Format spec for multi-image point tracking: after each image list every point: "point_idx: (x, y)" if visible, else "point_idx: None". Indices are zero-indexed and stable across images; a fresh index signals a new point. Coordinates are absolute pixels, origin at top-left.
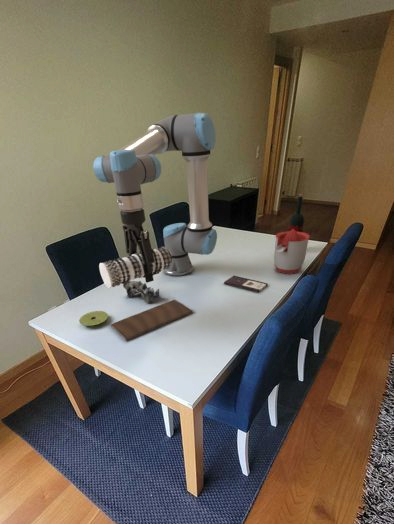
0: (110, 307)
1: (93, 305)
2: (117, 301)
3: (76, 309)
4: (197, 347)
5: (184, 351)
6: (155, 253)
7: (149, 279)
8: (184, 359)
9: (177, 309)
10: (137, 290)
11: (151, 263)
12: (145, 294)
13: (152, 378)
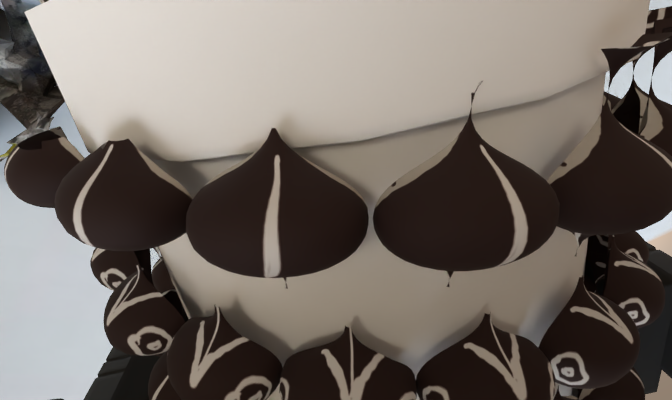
0: (79, 262)
1: (24, 326)
2: (11, 219)
3: (45, 387)
4: (654, 4)
5: (631, 72)
6: (558, 94)
7: None
8: (668, 95)
9: None
10: (31, 132)
11: (599, 238)
12: (27, 63)
13: (655, 226)
